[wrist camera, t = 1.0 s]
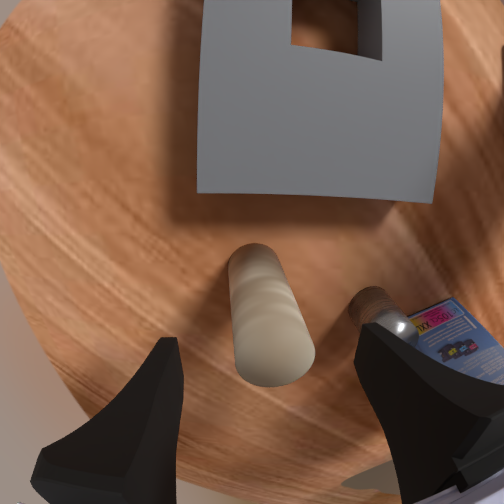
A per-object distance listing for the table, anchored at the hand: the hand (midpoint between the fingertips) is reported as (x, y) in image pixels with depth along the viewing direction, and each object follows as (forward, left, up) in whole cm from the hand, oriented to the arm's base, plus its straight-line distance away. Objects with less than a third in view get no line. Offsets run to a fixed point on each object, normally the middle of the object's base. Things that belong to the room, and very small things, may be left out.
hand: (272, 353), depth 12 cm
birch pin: (0, 0, -8) cm, 8 cm away
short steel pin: (-8, +3, -8) cm, 11 cm away
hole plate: (-3, -14, -8) cm, 16 cm away
